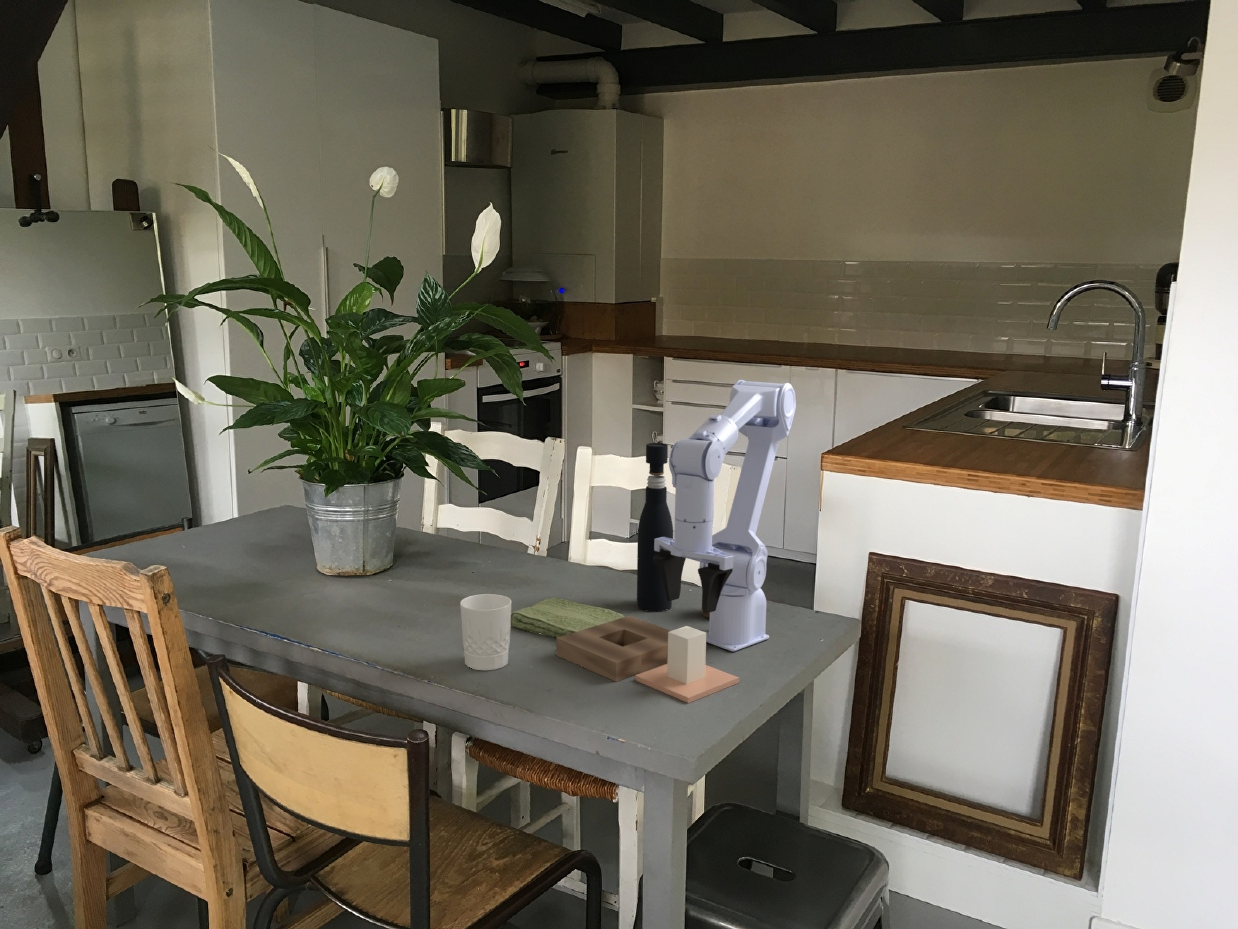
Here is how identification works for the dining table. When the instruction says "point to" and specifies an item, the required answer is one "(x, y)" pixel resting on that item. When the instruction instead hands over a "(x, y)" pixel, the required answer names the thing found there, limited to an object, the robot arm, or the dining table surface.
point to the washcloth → (560, 617)
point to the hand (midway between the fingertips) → (691, 605)
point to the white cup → (486, 630)
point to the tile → (687, 692)
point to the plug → (686, 654)
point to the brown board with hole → (616, 647)
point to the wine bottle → (653, 532)
